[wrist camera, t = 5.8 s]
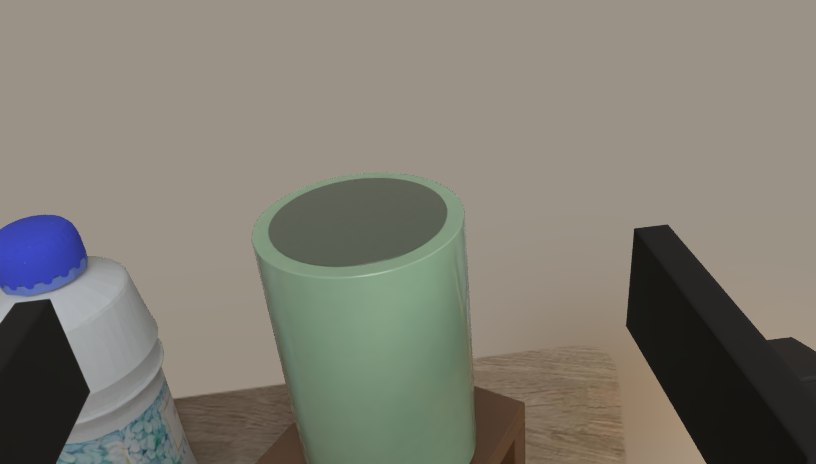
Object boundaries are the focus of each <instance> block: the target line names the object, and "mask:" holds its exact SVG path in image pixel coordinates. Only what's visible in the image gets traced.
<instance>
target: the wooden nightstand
mask: <svg viewBox="0 0 816 464" xmlns="http://www.w3.org/2000/svg"><path fill="white" fill-rule="evenodd" d="M474 394H475V412H476V431H477V441H476V447H475V451H474V454H473V457H472V459H471V461H470V463H469V464H525V403H524V402H522V401H518V400H515V399H512V398H509V397H506V396H503V395H500V394H497V393H494V392H491V391H488V390H485V389H482V388H479V387H476V386H474ZM256 464H305V462H304V457H303V453H302V449H301V445H300V441H299V437H298V432H297V428H296V424H295V422H294V423H293V424H292V425H291V426H290V427H289V428H288V430H287V431H286V432H285V433H284V434H283V435H282V436H281V437H280V438H279V439H278V440H277V441H276V442H275V443H274V444H273V446H272V447H271V448H270V449H269V450H268V451H267V452H266V453H265V454H264V455H263V456H262V457H261V458H260V459H259V461H258V462H257V463H256Z"/></svg>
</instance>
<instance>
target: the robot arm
mask: <svg viewBox="0 0 816 464" xmlns="http://www.w3.org/2000/svg"><path fill="white" fill-rule="evenodd" d="M626 327H627V328H628V330H629V332H630V333H631V335H632V337H633V338H634V340H635V342H636V343H637V345H638V347H639V349H640V350H641V352H642V354H643V356H644V357H645V359H646V361H647V362H648V364H649V366H650V367H651V369H652V371H653V373H654V374H655V376H656V378H657V380H658V381H659V383H660V385H661V386H662V388H663V390H664V392H665V393H666V395H667V397H668V398H669V400H670V402H671V403H672V405H673V407H674V409H675V410H676V412H677V414H678V416H679V417H680V419H681V421H682V422H683V424H684V425H685V428H686V429H687V431H688V433H689V434H690V436H691V438H692V439H693V441H694V443H695V445H696V446H697V448H698V450H699V451H700V453H701V455H702V457H703V458H704V460H705V462H706V463H707V464H816V351H814V350H812V349H811V348H809V347H807V346H806V345H804V344H802V343H801V342H799V341H797V340H796V339H794V338H792V337H789V338H781V339H773V340H766V339H765V338H764V337H763V335H762V334H761V333H760V332H759V331H758V330H757V328H756V327H755V326H754V325H753V324H752V323H751V321H750V320H749V319H748V318H747V317H746V316H745V315H744V313H743V312H742V311H741V310H740V309H739V307H738V306H737V305H736V304H735V303H734V302H733V300H732V299H731V298H730V297H729V296H728V295H727V293H726V292H725V291H724V290H723V289H722V287H721V286H720V285H719V284H718V283H717V282H716V280H715V279H714V278H713V277H712V276H711V275H710V273H709V272H708V271H707V270H706V269H705V268H704V266H703V265H702V264H701V263H700V262H699V261H698V260H697V258H696V257H695V256H694V255H693V254H692V252H691V251H690V250H689V249H688V248H687V247H686V245H685V244H684V243H683V242H682V241H681V240H680V238H679V237H678V236H677V235H676V234H675V233H674V231H673V230H672V229H671V228H670V227H669V225H660V226H652V227H644V228H635V229H634V238H633V250H632V262H631V274H630V286H629V298H628V310H627V322H626ZM89 394H90V389H89V387H88V385H87V383H86V380H85V378H84V376H83V373H82V371H81V369H80V366H79V364H78V362H77V360H76V357H75V355H74V353H73V350H72V348H71V346H70V344H69V341H68V339H67V337H66V334H65V332H64V330H63V327H62V325H61V323H60V321H59V318H58V316H57V314H56V311H55V309H54V307H53V304H52V302H51V300H50V299H43V300H34V301H26V302H18V303H15V304H14V305H13V306H12V308H11V309H10V311H9V312H8V313H7V315H6V316H5V317H4V319H3V320H2V321H1V323H0V464H56V463H57V461H58V458H59V456H60V454H61V452H62V450H63V448H64V446H65V444H66V442H67V440H68V438H69V435H70V433H71V431H72V429H73V427H74V425H75V423H76V421H77V419H78V417H79V415H80V412H81V410H82V408H83V406H84V404H85V402H86V400H87V398H88V396H89Z"/></svg>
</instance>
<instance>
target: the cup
mask: <svg viewBox="0 0 816 464" xmlns="http://www.w3.org/2000/svg"><path fill="white" fill-rule="evenodd" d="M465 231H466V230H465V213H464V208H463V205H462V203H461V201H460V199H459V198H458V197H457V196H456V195H455V194H454V193H453V192H452V191H451V190H450V189H448V188H447V187H445V186H443V185H441V184H439V183H437V182H434V181H432V180H429V179H425V178H422V177H418V176H413V175H407V174H398V173H364V174H355V175H348V176H342V177H337V178H332V179H328V180H324V181H321V182H317V183H315V184H311V185H308V186H306V187H303V188H301V189H299V190H296V191H294V192H292V193H290V194H288V195H286V196H284V197H283V198H281V199H280V200H278V201H277V202H275V203H274V204H273V205H271V206H270V207H269V208H268V209H267V210H266V211H265V212H263V214H262V215H261V216H260V217H259V219H258V220H257V222H256V224H255V225H254V229H253V232H252V244H253V248H254V252H255V256H256V261H257V265H258V269H259V273H260V277H261V281H262V285H263V290H264V294H265V298H266V303H267V307H268V311H269V315H270V319H271V323H272V327H273V332H274V336H275V340H276V344H277V349H278V353H279V357H280V361H281V365H282V369H283V374H284V378H285V382H286V386H287V390H288V395H289V399H290V403H291V407H292V411H293V416H294V420H295V424H296V428H297V432H298V437H299V441H300V445H301V449H302V453H303V457H304V462H305V464H469V463H470V461H471V459H472V457H473V454H474V451H475V447H476V441H477V431H476V412H475V394H474V376H473V358H472V339H471V322H470V304H469V285H468V267H467V248H466V233H465Z"/></svg>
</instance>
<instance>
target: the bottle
mask: <svg viewBox="0 0 816 464" xmlns="http://www.w3.org/2000/svg"><path fill="white" fill-rule="evenodd" d="M43 299H50V300H51V302H52V304H53V307H54V309H55V311H56V314H57V316H58V318H59V321H60V323H61V325H62V327H63V330H64V332H65V334H66V337H67V339H68V341H69V344H70V346H71V348H72V350H73V353H74V355H75V357H76V360H77V362H78V364H79V366H80V369H81V371H82V373H83V376H84V378H85V380H86V383H87V385H88V387H89V389H90V394H89V396H88V398H87V400H86V402H85V404H84V406H83V408H82V410H81V412H80V415H79V417H78V419H77V421H76V423H75V425H74V427H73V429H72V431H71V433H70V435H69V438H68V440H67V442H66V444H65V446H64V448H63V450H62V452H61V454H60V456H59V458H58V461H57V463H56V464H198V463H197V461H196V459H195V457H194V455H193V453H192V451H191V448H190V446H189V444H188V441H187V439H186V436H185V433H184V430H183V427H182V424H181V421H180V419H179V416H178V413H177V410H176V407H175V404H174V401H173V399H172V396H171V393H170V390H169V387H168V384H167V382H166V379H165V376H164V373H163V370H162V367H161V366H162V362H163V356H164V351H163V346H162V343H161V341H160V340H159V338H158V328H157V323H156V321H155V319H154V318H153V316H152V315H151V314H150V312H149V310H148V308H147V307H146V305H145V303H144V301H143V299H142V298H141V296H140V294H139V292H138V290H137V288H136V286H135V285H134V283H133V281H132V279H131V277H130V275H129V273H128V272H127V270H126V268H124V267H123V266H122V265H121V264H120V263H118V262H116V261H114V260H112V259H108V258H103V257H96V256H87V254H86V250H85V248H84V245H83V243H82V240H81V237H80V235H79V233H78V231H77V230H76V228H75V227H74V225H73V224H72V223H71V222H70V221H68V220H66V219H64V218H62V217H60V216H55V215H37V216H31V217H27V218H23V219H20V220H17V221H15V222H13V223H10V224H8V225H6V226H5V227H3V228H2V229H0V323H1V321H2V320H3V319H4V317H5V316H6V315H7V313H8V312H9V311H10V309H11V308H12V306H13V305H14V304H15V303H18V302H26V301H34V300H43Z"/></svg>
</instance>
